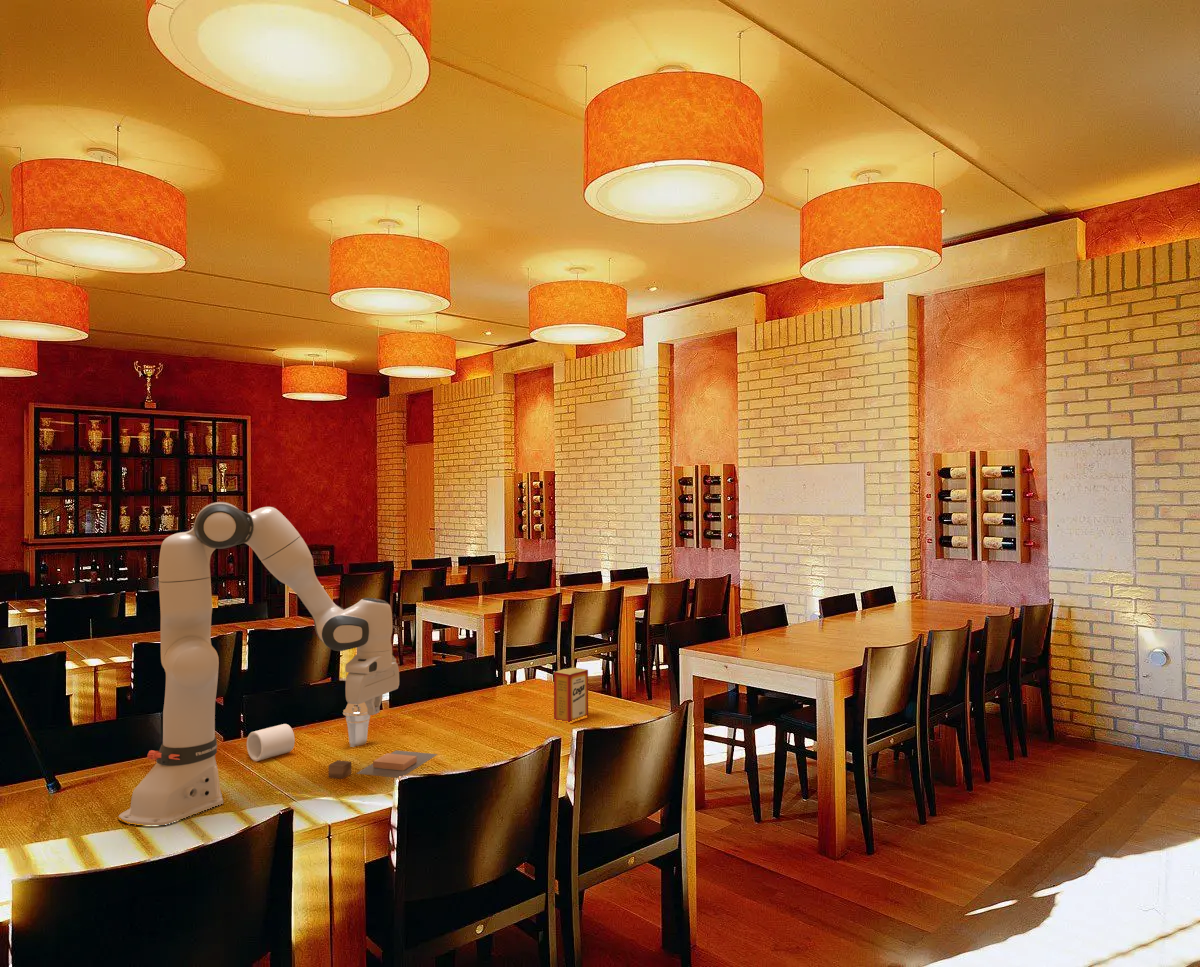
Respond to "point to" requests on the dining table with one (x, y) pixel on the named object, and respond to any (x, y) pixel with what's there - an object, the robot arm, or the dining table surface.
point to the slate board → (396, 773)
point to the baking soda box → (570, 694)
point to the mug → (270, 742)
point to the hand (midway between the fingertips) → (373, 713)
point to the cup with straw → (357, 722)
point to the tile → (394, 761)
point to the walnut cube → (339, 769)
